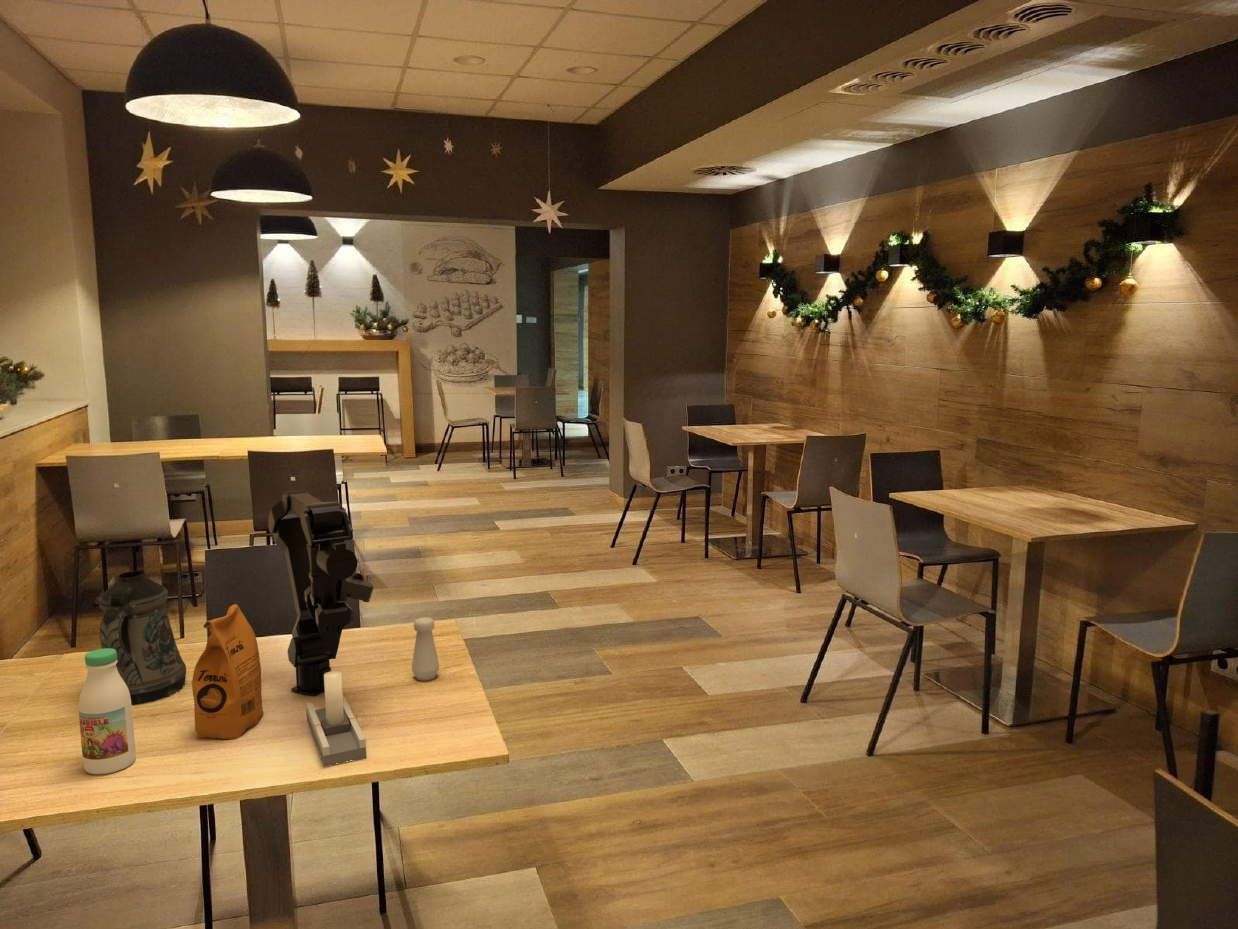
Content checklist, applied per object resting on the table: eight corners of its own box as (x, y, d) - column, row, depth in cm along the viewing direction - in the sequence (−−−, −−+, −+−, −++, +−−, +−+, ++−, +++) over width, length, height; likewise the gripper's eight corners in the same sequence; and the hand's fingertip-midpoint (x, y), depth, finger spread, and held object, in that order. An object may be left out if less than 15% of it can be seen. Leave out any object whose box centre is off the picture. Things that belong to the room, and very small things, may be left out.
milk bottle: (98, 755, 149) (88, 644, 146) (144, 753, 150) (135, 643, 147) (74, 777, 142) (63, 661, 139) (123, 775, 142) (113, 659, 140)
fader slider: (320, 727, 155) (318, 672, 154) (345, 722, 157) (343, 668, 156) (324, 736, 152) (321, 680, 150) (350, 731, 154) (347, 675, 152)
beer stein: (182, 669, 189) (174, 559, 185) (194, 699, 172) (185, 579, 169) (94, 685, 180) (84, 570, 176) (98, 719, 164) (87, 592, 160)
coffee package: (185, 740, 155) (176, 623, 152) (222, 711, 167) (215, 602, 164) (238, 742, 154) (230, 624, 151) (271, 713, 166) (265, 603, 163)
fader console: (307, 721, 162) (306, 703, 162) (345, 714, 166) (344, 696, 165) (324, 767, 145) (323, 746, 144) (366, 758, 148) (365, 737, 148)
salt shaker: (432, 683, 181) (430, 624, 179) (407, 681, 182) (405, 622, 180) (443, 673, 186) (442, 615, 185) (419, 671, 188) (417, 614, 186)
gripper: (379, 574, 159) (382, 654, 161) (359, 553, 175) (362, 626, 178) (316, 581, 154) (320, 665, 156) (302, 559, 170) (306, 634, 173)
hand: (329, 646), depth 166 cm, fingers open, 9 cm apart
